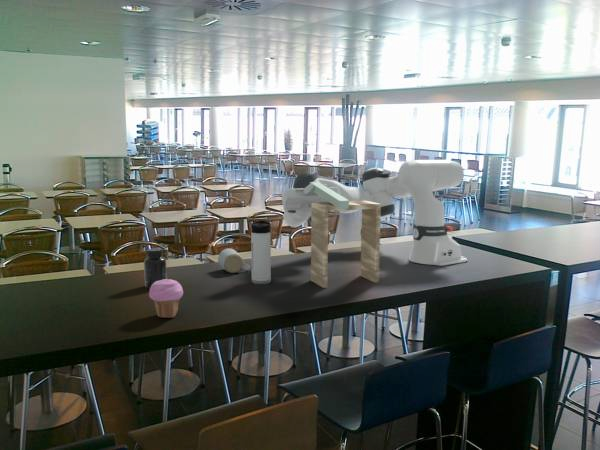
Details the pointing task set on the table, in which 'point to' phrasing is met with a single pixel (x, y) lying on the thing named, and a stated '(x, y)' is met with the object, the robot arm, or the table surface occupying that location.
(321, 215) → the frame
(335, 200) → the bar
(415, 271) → the table surface
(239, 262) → the ceramic mug
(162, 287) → the cupcake
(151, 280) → the supplement bottle
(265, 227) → the travel mug
